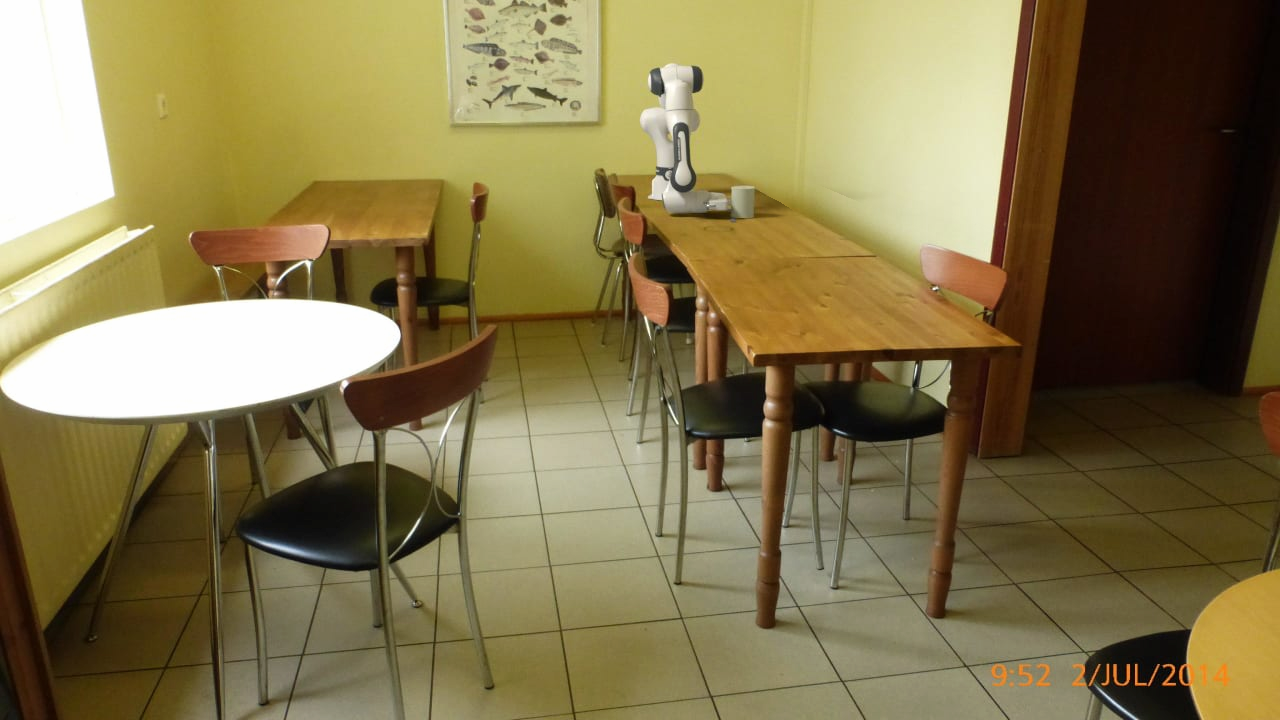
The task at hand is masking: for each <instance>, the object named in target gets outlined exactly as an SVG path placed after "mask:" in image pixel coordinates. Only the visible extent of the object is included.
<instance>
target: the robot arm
mask: <svg viewBox="0 0 1280 720" xmlns="http://www.w3.org/2000/svg"><path fill="white" fill-rule="evenodd" d="M704 82H705V77H704V73H703V71H702V68H700V66H696V65H690V66H689V65H680V64H678V63H675V62H670V63H668V64H666V65H664V67H655V68H652V69H651V70H650V71H649V74H648V78H647V86H648V89H649V91H650V93H652V94H653V95H654V96H657V97H658V98H657V99H658V104H659V106H655V107H650V108H645V109H644V110H643V111H642V112H641V113H640V115H639V116H640V117H639V124H640V128H641V129H642V131H643V132H645V133H646V134H647V135H648V136H649V137H650V138H651V140H652V142H653V143H654V146H655V151H656V153H655V154H656V166H655V174H656V176H655V177H654V178H653V179H652V181H651V194H649V195H648V196H647V199H649V200H655V201H662V204H663V208H664V210H665V211H666V212H668V213H675V214H686V213H693V214H708V211H726V210H728V209H729V206H731V198H730V197H728V198H727V196H726V194H725V193H722V192H712V191H711V192H709V191H708V190H703V189H702V190H698V189H697V190H695V189H694V188H695V186H696V184H697V175H696V172H695V170H694V167H693V166H692V161H691V145H690V144H691V143H690V142H691V136H692V133H693V132H696V131H697V130H698V128H699V126H700V123H701V116H700V114H699V112H698V110H697V109H696V108H694V99H693V95H692V94H696V93H699V92H701V90H702V89H703V85H704ZM669 135H670V136H671V138H672V139H670V138H669Z"/></svg>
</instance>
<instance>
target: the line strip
mask: <svg viewBox="0 0 1280 720" xmlns="http://www.w3.org/2000/svg"><path fill="white" fill-rule="evenodd" d="M729 220H731V221H730V223H737V221H736V218H732V217H729Z"/></svg>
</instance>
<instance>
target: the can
mask: <svg viewBox="0 0 1280 720" xmlns="http://www.w3.org/2000/svg"><path fill="white" fill-rule="evenodd" d="M755 190H756V186H751V185H734V186H731V205H730V209H731V213H730V218H732V217H733V218H735V219H738V218H748V219H752V217H753V218H754V217H755V214H754V213H755V212H754V211H755V210H754V208H755V207H754V206H755Z"/></svg>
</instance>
